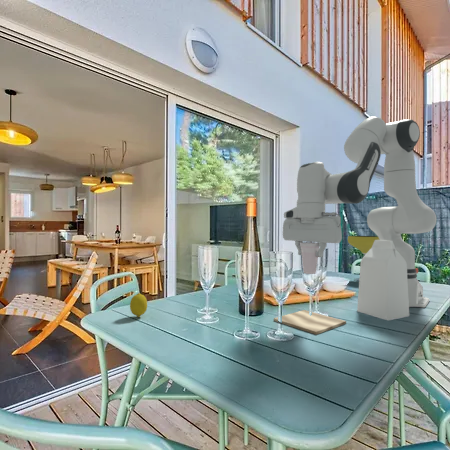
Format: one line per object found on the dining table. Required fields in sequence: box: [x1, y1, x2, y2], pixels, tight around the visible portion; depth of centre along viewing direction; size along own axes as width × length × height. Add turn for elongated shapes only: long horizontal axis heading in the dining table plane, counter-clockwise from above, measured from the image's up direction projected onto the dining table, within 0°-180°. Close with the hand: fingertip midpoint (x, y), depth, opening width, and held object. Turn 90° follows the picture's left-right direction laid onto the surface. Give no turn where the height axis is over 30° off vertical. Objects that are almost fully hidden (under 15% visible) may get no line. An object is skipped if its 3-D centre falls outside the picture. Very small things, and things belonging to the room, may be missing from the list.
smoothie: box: [300, 241, 320, 275], centre depth 98 cm, size 6×6×14 cm
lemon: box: [129, 292, 148, 318], centre depth 102 cm, size 6×6×8 cm
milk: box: [356, 240, 410, 321], centre depth 109 cm, size 12×12×26 cm
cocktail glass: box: [347, 235, 380, 282], centre depth 174 cm, size 18×18×25 cm
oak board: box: [273, 309, 347, 336], centre depth 98 cm, size 16×16×1 cm
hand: (310, 256), depth 98 cm, fingers closed on smoothie, 5 cm apart
